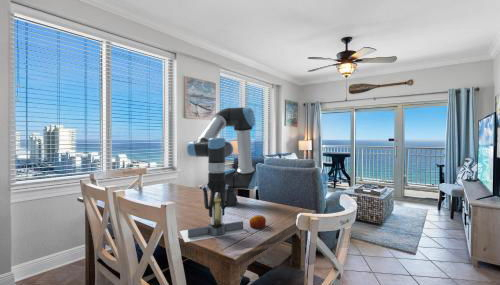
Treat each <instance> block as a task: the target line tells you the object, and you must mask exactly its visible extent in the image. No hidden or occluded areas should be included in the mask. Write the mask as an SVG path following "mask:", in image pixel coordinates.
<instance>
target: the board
mask: <svg viewBox="0 0 500 285" xmlns="http://www.w3.org/2000/svg"><path fill="white" fill-rule="evenodd" d="M179 233H180V235H181V237H182V239H183V241H184V243H191V242H196V241H203V240H207V239H214V238H220V237H226V236H233V235H237V234H244V233H245V234H246V233H247V231H246V230H245V229H243V230H236V231H230V232H226V233H225V234H224V235H222V236H217V237H215V236H209V235H205V236H198V237H192V238H188V229H184V230H179Z"/></svg>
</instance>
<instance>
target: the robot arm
mask: <svg viewBox="0 0 500 285" xmlns="http://www.w3.org/2000/svg"><path fill="white" fill-rule="evenodd" d="M255 121H256V118H255V114H254V111H253V109H252V108H251V107H245V106H244V107H242V106H241V107H227V108H223V109H221V110H219V111H218V112H216V113H215V114H213V116H212V118H211V120H210V123H209V124H208V125H207V127H206V128H205V130H204V131H203V132H202V133H201V134H200V136H198V138H197V140H196V141H194V140H193V141H189V142H188V144H187V147H186V151H187V155H188V156H190V157H195V158H200V157H203V158H204V157H206V158H207V159H208V162H207V163H208V164H207V166H208V167H207V168H208V174H207V175H208V177H207V178H208V181H207V184H206V185H205V186H202V187H201V190H202V191H203V203H204V209H205V210H208V217H210V224H212V225H214V210H213V203H214V201H213V199H214V197H219V198H222V201H220V223H221V224H222V223H223V216H225V209H226V208H228V207H233V206H236V205H238V202H239V201H238V197H237V193H236V190H254V189H256V187H257V182H258V172H257V171H255V168H254V167H253V162H252V161H253V159H252V143H251V142H252V140H251V131H252V130H253V127H255V125H256V122H255ZM226 127H227V128H228V127H233V131H235V132H236V141H237V142H236V144H237V156H238V157H237V158H238V168H226V158H228V157H230V156H232V154H233V153H234V146H233V144H232V143H231V142H230V141H229V142H228V141H226V139H225V138H224V137H218V136H219V134H220V132H221V131H222V130H223V129H226ZM209 190H210V195H209V194H208V191H209ZM216 194H217V195H216ZM208 195H209V196H210V197H208Z"/></svg>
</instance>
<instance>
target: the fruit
mask: <svg viewBox="0 0 500 285" xmlns="http://www.w3.org/2000/svg"><path fill="white" fill-rule="evenodd" d="M266 224H267V219H266V217H265V216H263V215H262V214H257V215H254V216H251V218H250V219H249V226H250V228H251V229H254V230H262V229H265V227H266Z"/></svg>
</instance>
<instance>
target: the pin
mask: <svg viewBox="0 0 500 285" xmlns="http://www.w3.org/2000/svg"><path fill="white" fill-rule="evenodd" d="M213 201H214V203H213V210H214V225H213V227H220V208H221V206H220V201H222V198H219V197H217V196H215V197H214V199H213Z"/></svg>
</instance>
